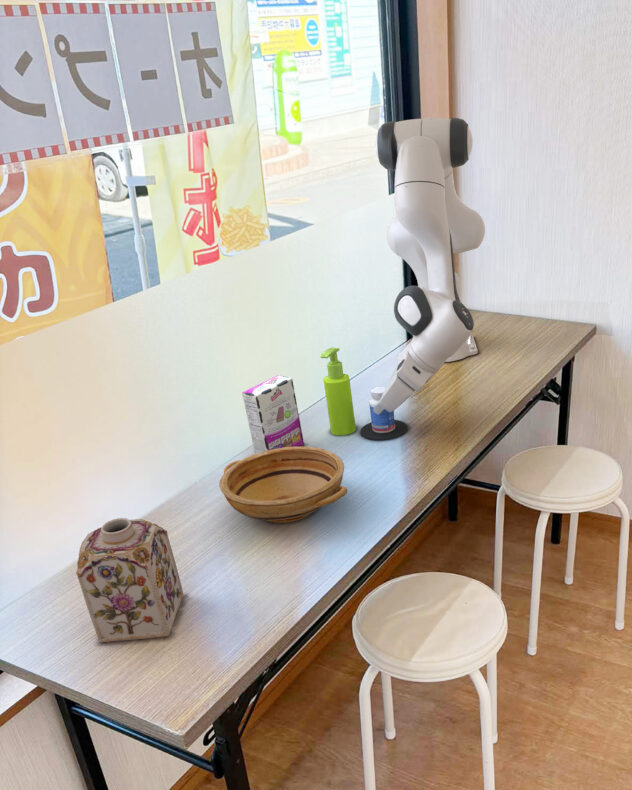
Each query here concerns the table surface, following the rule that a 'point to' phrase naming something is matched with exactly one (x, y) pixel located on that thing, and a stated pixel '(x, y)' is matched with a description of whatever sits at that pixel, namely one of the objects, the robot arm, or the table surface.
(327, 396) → the lime green pump bottle
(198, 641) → the table surface
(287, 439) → the candy bar box
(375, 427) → the pill bottle
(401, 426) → the coaster
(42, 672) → the table surface
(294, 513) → the ceramic bowl
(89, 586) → the decorative jar
